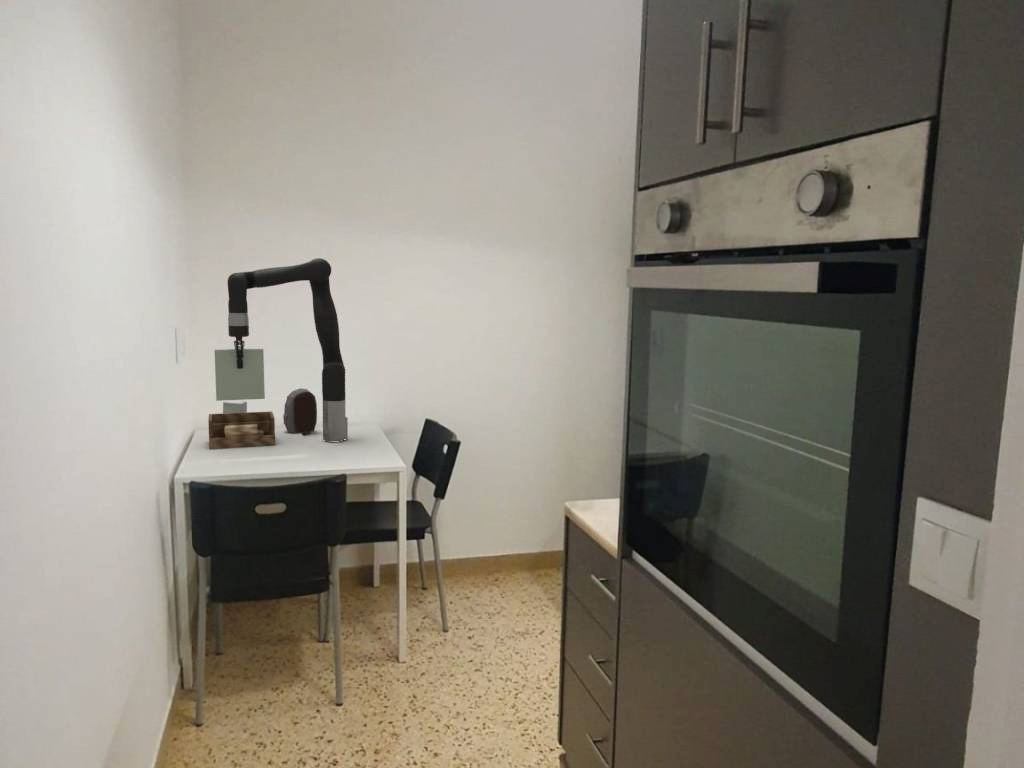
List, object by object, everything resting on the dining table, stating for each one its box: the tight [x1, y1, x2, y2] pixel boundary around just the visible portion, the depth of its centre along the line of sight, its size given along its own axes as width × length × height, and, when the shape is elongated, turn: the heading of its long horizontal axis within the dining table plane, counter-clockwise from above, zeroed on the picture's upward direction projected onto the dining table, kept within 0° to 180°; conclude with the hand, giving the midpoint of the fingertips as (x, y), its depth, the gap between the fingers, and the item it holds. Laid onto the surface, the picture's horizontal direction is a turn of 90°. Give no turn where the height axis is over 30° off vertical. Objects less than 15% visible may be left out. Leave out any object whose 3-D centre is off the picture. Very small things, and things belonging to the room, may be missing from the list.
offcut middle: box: [225, 430, 264, 438], centre depth 286 cm, size 14×5×2 cm, turn 115°
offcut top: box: [224, 424, 258, 434], centre depth 285 cm, size 12×5×2 cm, turn 109°
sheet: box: [214, 348, 266, 402], centre depth 288 cm, size 18×2×20 cm, turn 112°
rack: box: [207, 410, 276, 450], centre depth 288 cm, size 24×14×12 cm, turn 112°
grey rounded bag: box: [282, 387, 318, 435], centre depth 313 cm, size 15×8×20 cm, turn 136°
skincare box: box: [222, 400, 248, 413], centre depth 306 cm, size 8×6×15 cm
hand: (239, 367), depth 288 cm, fingers closed on sheet, 2 cm apart
